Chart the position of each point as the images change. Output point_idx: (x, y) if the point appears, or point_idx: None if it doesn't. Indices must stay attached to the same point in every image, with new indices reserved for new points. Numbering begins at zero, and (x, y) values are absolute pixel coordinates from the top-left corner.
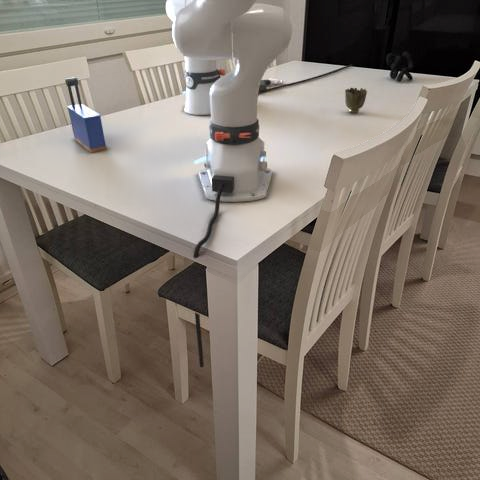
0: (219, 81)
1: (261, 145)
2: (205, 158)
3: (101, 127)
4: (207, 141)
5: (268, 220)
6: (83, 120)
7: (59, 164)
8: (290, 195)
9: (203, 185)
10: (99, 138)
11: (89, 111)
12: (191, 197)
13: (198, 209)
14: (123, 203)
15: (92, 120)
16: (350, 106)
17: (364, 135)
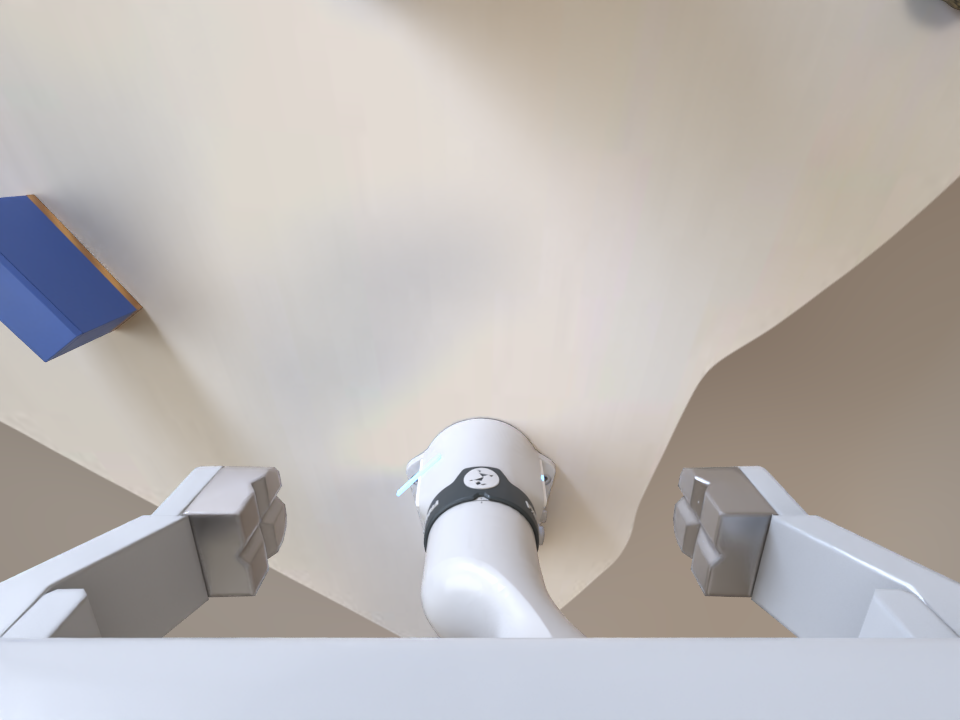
0: (446, 636)
1: (538, 523)
2: (417, 477)
3: (100, 326)
4: (420, 510)
5: None
6: None
7: (79, 396)
8: (574, 544)
9: (422, 524)
10: (112, 324)
11: (20, 296)
12: (404, 543)
13: (421, 578)
14: (293, 557)
15: (68, 346)
16: (946, 1)
17: (856, 242)
